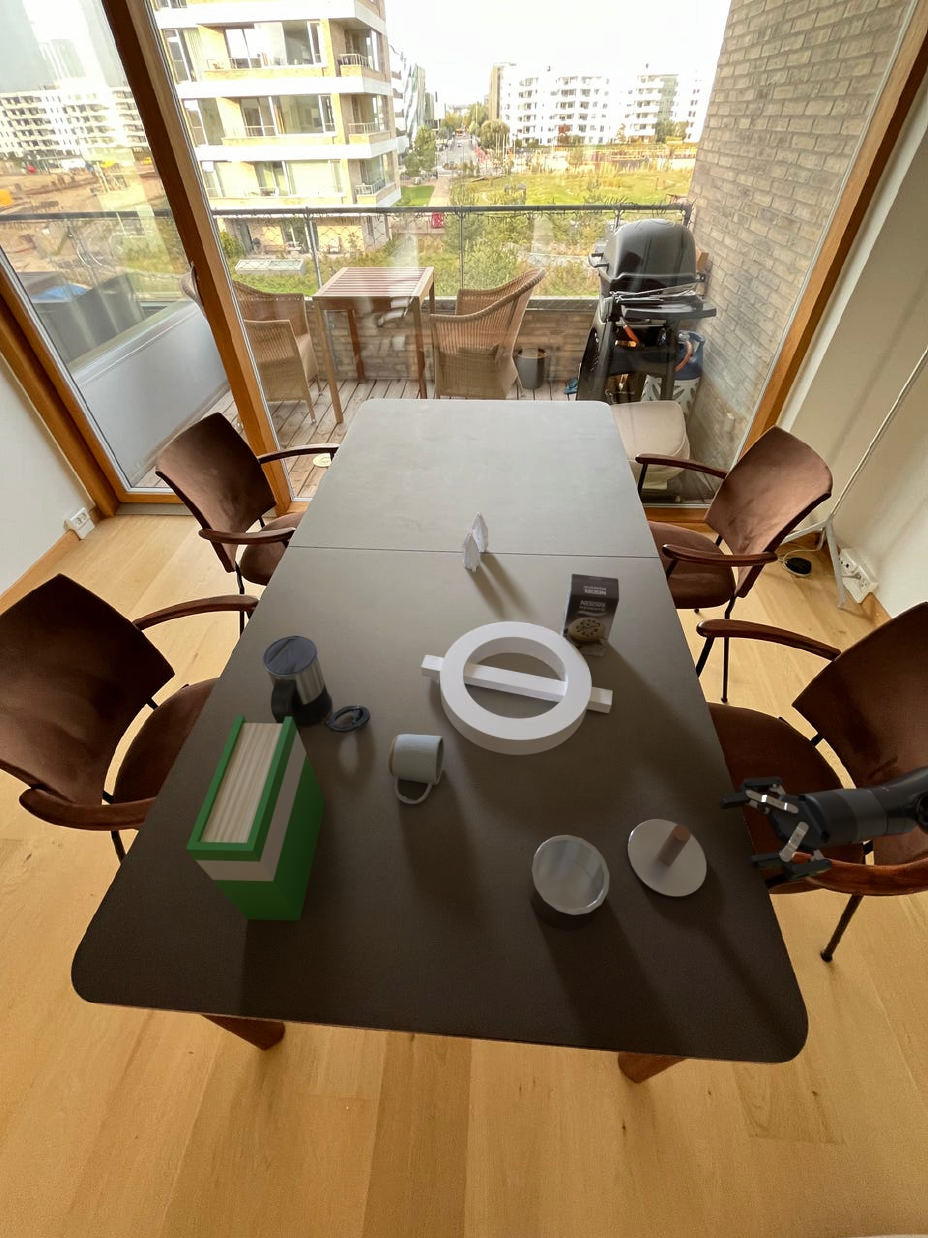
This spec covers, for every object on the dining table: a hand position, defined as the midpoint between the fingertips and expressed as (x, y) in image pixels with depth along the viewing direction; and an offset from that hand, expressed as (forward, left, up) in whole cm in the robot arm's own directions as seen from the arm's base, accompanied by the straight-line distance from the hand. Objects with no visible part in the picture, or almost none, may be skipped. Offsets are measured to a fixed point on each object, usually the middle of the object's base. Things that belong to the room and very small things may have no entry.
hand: (735, 832), depth 79 cm
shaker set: (+80, -5, -7) cm, 81 cm away
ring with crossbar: (+41, +10, -7) cm, 43 cm away
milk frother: (+54, +43, -7) cm, 70 cm away
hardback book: (+32, +57, -7) cm, 66 cm away
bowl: (+7, +24, -7) cm, 26 cm away
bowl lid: (+3, +8, -6) cm, 11 cm away
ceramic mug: (+34, +34, -7) cm, 49 cm away
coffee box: (+44, -9, -7) cm, 46 cm away
